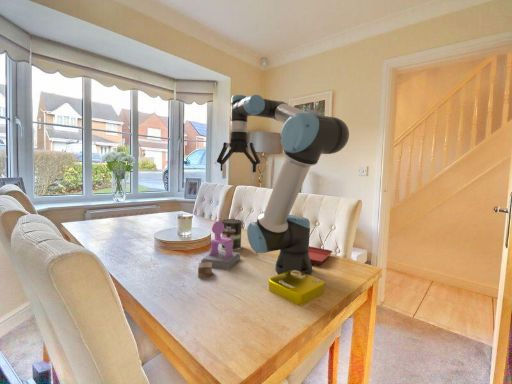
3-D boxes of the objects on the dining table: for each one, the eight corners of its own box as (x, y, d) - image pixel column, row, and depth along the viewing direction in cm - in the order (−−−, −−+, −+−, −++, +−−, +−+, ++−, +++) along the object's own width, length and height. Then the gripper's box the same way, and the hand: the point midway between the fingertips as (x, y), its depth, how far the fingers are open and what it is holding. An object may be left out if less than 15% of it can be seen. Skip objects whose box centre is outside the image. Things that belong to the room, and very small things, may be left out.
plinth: (239, 258, 124) (239, 252, 123) (229, 269, 111) (229, 262, 111) (213, 255, 127) (213, 249, 127) (201, 265, 115) (201, 258, 114)
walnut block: (211, 271, 109) (211, 262, 108) (211, 277, 104) (211, 267, 103) (199, 272, 108) (199, 262, 108) (198, 277, 103) (198, 267, 103)
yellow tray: (266, 290, 95) (266, 277, 94) (293, 279, 105) (293, 267, 104) (299, 308, 84) (300, 293, 83) (326, 293, 94) (327, 280, 93)
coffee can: (237, 251, 134) (238, 223, 132) (218, 249, 136) (218, 222, 135) (243, 245, 144) (244, 219, 142) (225, 243, 146) (225, 218, 145)
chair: (223, 260, 113) (224, 225, 111) (207, 256, 117) (207, 222, 116) (234, 254, 120) (235, 222, 119) (218, 251, 125) (219, 219, 123)
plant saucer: (298, 249, 140) (298, 243, 140) (332, 256, 131) (333, 250, 131) (283, 260, 125) (283, 253, 124) (321, 268, 116) (322, 261, 115)
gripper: (267, 132, 121) (266, 179, 123) (216, 132, 127) (216, 177, 130) (263, 130, 114) (262, 180, 116) (209, 130, 120) (209, 178, 122)
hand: (237, 179), depth 123 cm, fingers open, 13 cm apart
